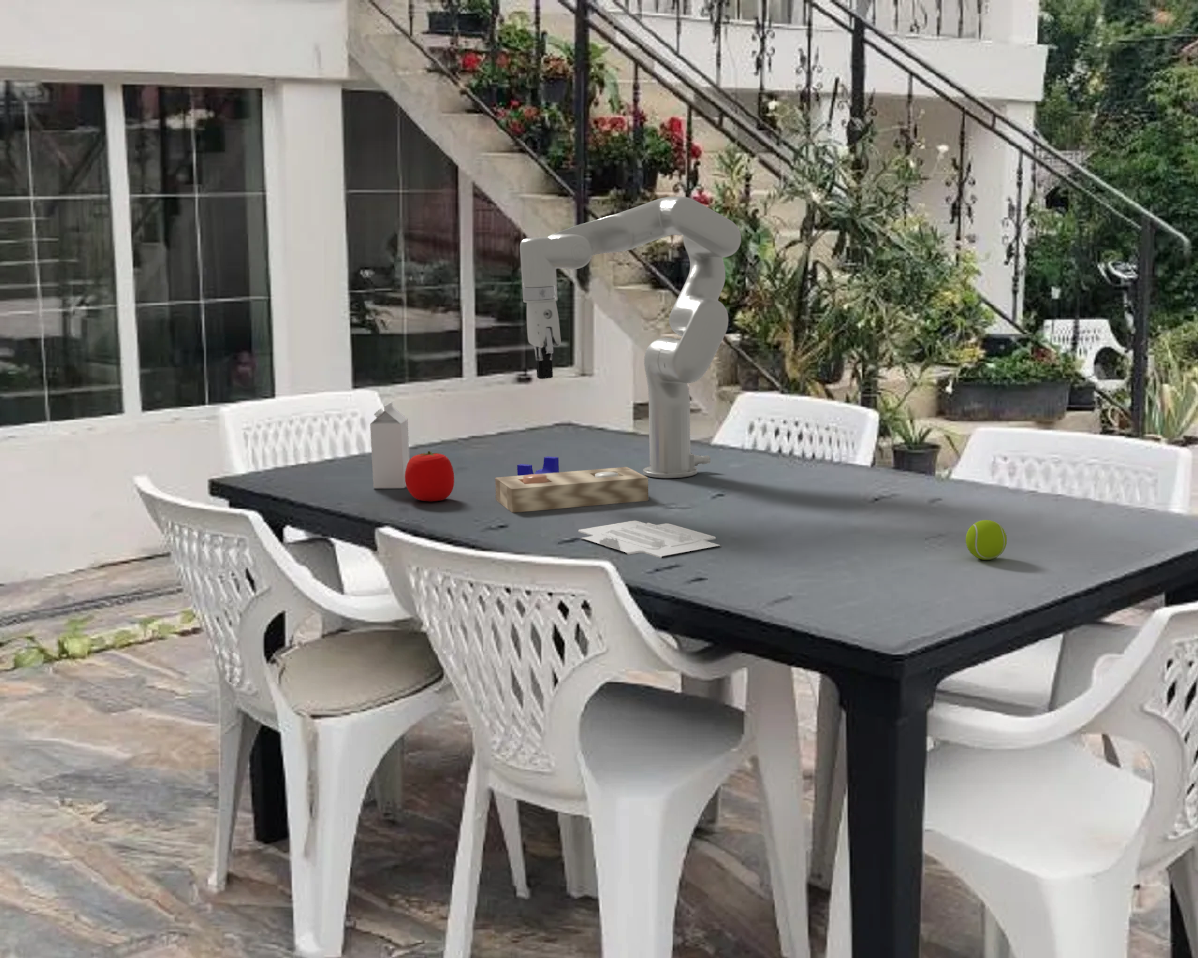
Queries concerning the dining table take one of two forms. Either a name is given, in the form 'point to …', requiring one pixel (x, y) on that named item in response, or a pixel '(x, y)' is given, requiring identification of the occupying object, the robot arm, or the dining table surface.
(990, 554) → the tennis ball
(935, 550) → the dining table surface
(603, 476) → the white domed cylinder
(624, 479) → the housing
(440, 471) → the tomato
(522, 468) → the cable clip
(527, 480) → the peach rounded piece
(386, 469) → the milk carton
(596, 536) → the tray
